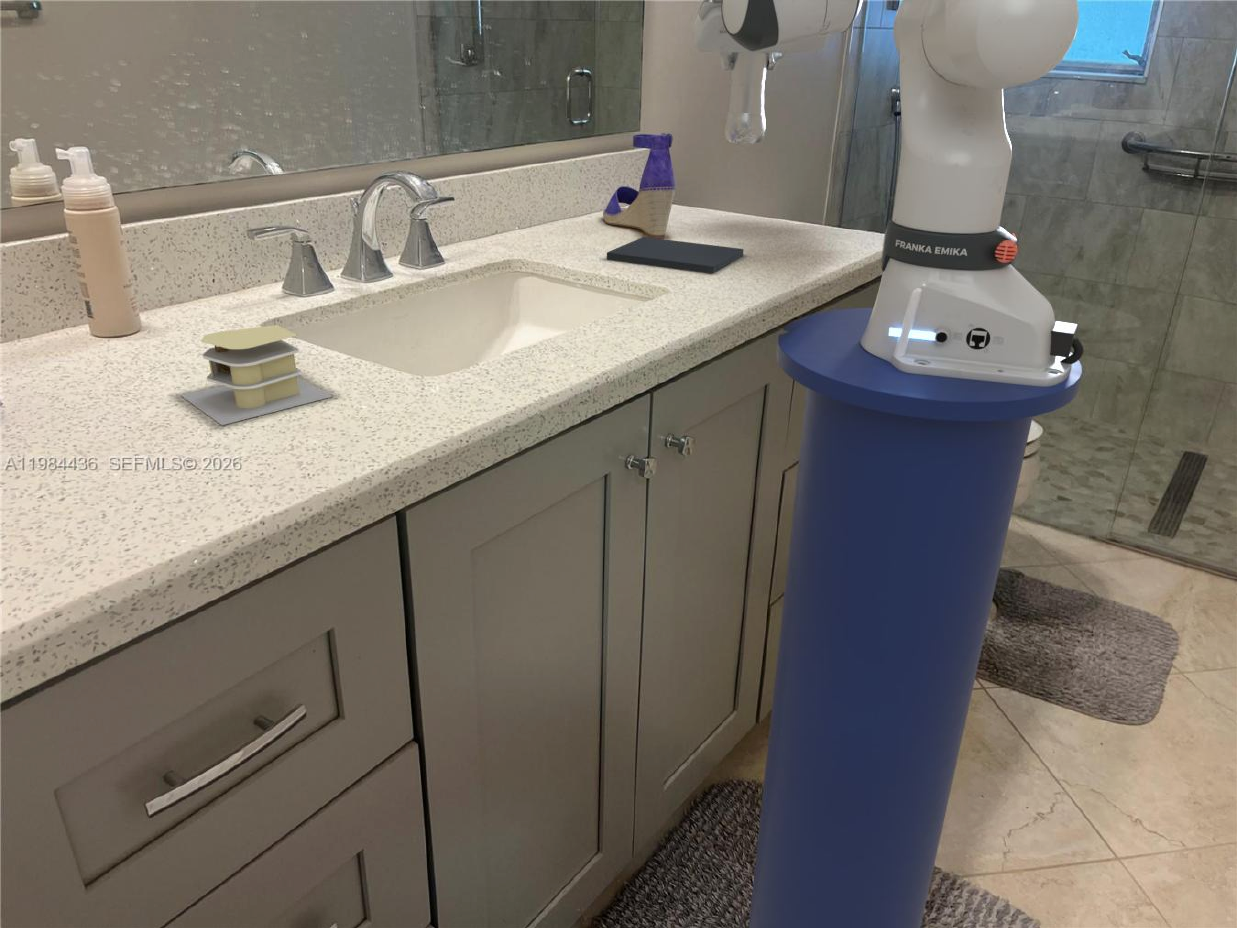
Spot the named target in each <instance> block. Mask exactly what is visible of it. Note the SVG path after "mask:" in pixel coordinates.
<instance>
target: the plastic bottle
mask: <svg viewBox="0 0 1237 928" xmlns="http://www.w3.org/2000/svg"><path fill="white" fill-rule="evenodd" d="M769 54H770V52H731V54H730V55H731V58H732V60H733V62H734V65H733V67H732V70H730V89H729V90H730V91H729V100H728V108H727V113H726V117H725V121H724V137H725V139H726V140H727V143H728V142H729V143H731V144H734V145H738V146H743V147H745V146H746V147H747V146H752V145H755V144H759V143H761V142H762V140H763V139H764V137H765V133H766V128H767V127H766V126H767V125H766V114H765V81H766V75H767V70H766V69H767V63H768V58H769Z"/></svg>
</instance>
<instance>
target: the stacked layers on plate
mask: <svg viewBox="0 0 1237 928" xmlns="http://www.w3.org/2000/svg"><path fill="white" fill-rule="evenodd" d="M296 336H297V334H296V333H294V332H292V331H290V330H288V329H286V328H284V327H283V326H280V325H278V324H275V325H267V326H266V325H265V326H257V327H249V328H241V329H231V330H223V331H217V332H212V333H207V334H205V335H204V336H203V337H202V338H201V339H200V340H199V341H200V342H201V343H205V344H209V345H212V346H214V347H210V348H208V349H207V350H206V351H205V352H204V353H203V354H202V358H203V359H204V360H207V361H208V365H209V369H210V373H209V374H208V375H207V376H206V380H207V381H208V382H210V383H213V384H217V385H219V386H215V387H211V388H210V387H209V388H207V389H206V388H205V389H201V390H197V391H193V392H189V393H185V394H181V395H180V396H181V397H182V398H183V399H185V401H187V402H189V403H191V404H192V405H193V406H195V408H197V409H199V411H201V412H203V413H204V414H205V415H206V416H208V417H210V418H211V419H213V420H214V421H215V422H217V423H218V424H220V425H221V426H225V425H228V424H229V425H230V424H233V423H237V422H240V421H244V420H247V419H253V418H256V417H259V416H263V415H267V414H270V413H271V414H272V413H275V412H278V411H282V410H286V409H290V408H294V407H298V406H302V405H306V404H309V403H314V402H317V401H321V400H326V399H328V398H332V397H334V396H333V395H331V394H330V393H327V392H326V391H324V390H323V389H320V388H319V387H318V386H315V385H313V384H312V383H310V382H309V381H307V380H305V379H304V378H301V377H299V376H301V375H303V371H302V370H301V369H299V368H297V363H296V357H295V354H298V353H300V348H298V347H296V346H294V345H292V344H290V343H289V342H287V341H285V339H289V338H293V337H296Z"/></svg>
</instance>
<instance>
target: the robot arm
mask: <svg viewBox="0 0 1237 928" xmlns="http://www.w3.org/2000/svg"><path fill="white" fill-rule="evenodd" d="M863 1H864V0H702V1H701V3H700V6H699V10H698V14H697V16H696V19H695V21H694V24H693V26H692V29H691V37H692V41H693V45H694V47H695V49H696V51H697V52H698V53H720V56H721V59H720V69H721V71H731V70H732V67H733V65H734V62H733V60H732V58H731V55H730V54H731V52H769V58H768V63H767V69H766V71H776V70H777V67H778V65H779V63H780V64H781V62H783V61H784V60H786V59H787V58H788V57H789V56H790V54H791V53H818V52H820V51H821V50H823V49H824V48H825V47H826V45H827V42H828V40H829V38H830V36H832V35H837V34H840V33H841V34H842V33H845V32H846V31H847V30H848V29H850V28H851V26H852V25H853V24H854V23H855V21H856V19H857V17H858V15H859V14H860V11H861V8H862V5H863ZM1078 3H1079V2H1078V0H901V2H900V4H899V6H898V8H897V10H896V13H895V17H894V21H893V27H892V29H893V30H892V33H893V35H892V36H893V41H894V45H895V48H896V51H897V55H898V62H899V63H898V65H899V96H900V97H899V98H900V119H901V142H900V154H899V155H900V157H899V165H898V172H897V179H896V187H895V195H894V202H893V209H892V218H891V219H889V220H888V221H887V225H886V229H885V231H884V237H883V242H882V250H881V259H880V262H881V271H882V274H881V279H880V280H881V281H880V285H879V288H878V292H877V294H876V299H875V302H874V305H873V307H872V308H873V311H872V314H871V317H870V320H869V322H868V325H867V327H866V330H865V332H864V334H863V336H862V338H861V341H860V343H861V345H862V347H863V348H864V349H865V350H866V351H868V352H869V353H871V354H873V355H875V356H877V357H879V358H882V359H884V360H886V361H888V362H890V363H891V364H892V365H893V366H894V367H896V368H897V369H898V370H900V371H902V372H906V373H913V374H922V375H932V376H942V377H951V378H961V379H971V380H981V381H990V382H1000V383H1010V384H1019V385H1029V386H1039V387H1049V386H1053V385H1057V384H1059V383H1061V382H1063V381H1065V380H1066V379H1067V378H1068V376H1069V375H1070V372H1071V367H1072V364H1073V363H1075V362H1077V361H1078V360H1079V361H1080V359H1081V358H1082V357H1083V354H1084V346H1083V344H1082V342H1081V341H1080V339H1079V338H1078V337H1076V334H1077V330H1078V325H1079V324H1078V323H1072V322H1065V321H1059V320H1056V317H1055V313H1054V309H1053V306H1052V305H1051V302H1050V301H1049V300H1048V299H1047V298H1046V297H1045V296H1044V295H1043V294H1042V293H1041V292H1039V291H1038V289H1037V288H1036V287H1034V285H1032V283H1031V282H1029V281H1028V280H1027V279H1026V278H1025V277H1024V276H1023V275H1022V274H1021V273H1020V272H1019V271H1018V270H1017V269H1016V268H1015V267H1013V265H1012V264H1013V262H1014V259H1015V258H1016V256H1017V254H1018V251H1019V248H1018V239H1017V236H1016V233H1014V232H1012V234H1011V233H1010V232H1008V231H1007V230H1006V229H1004V228H1003V227H1002V226H1001V224H1000V223H1001V218H1002V213H1003V208H1004V202H1005V196H1006V191H1007V186H1008V180H1009V176H1010V170H1011V164H1012V159H1013V150H1012V149H1013V148H1012V147H1013V146H1012V142H1011V140H1010V137H1009V135H1008V131H1007V128H1006V119H1005V111H1004V90H1005V89H1006V90H1007V89H1011V88H1015V87H1018V86H1022V85H1024V84H1028V83H1030V82H1033V81H1036V80H1039V79H1040V78H1043V77H1044V76H1046V75H1047V74H1049V73H1050V72H1051V71H1053V70H1054V69H1056V67H1057V66H1058V65H1059V64H1060V63H1061V62H1062V61H1063V60H1064V58H1065V57H1066V55H1067V54H1068V52H1069V50H1070V49H1071V47H1072V45H1073V43H1074V40H1075V37H1076V35H1077V32H1078V26H1079V19H1080V15H1079V13H1080V11H1079V10H1080V9H1079V4H1078ZM1072 350H1073V352H1072ZM1070 353H1073V354H1072V355H1071V354H1070Z"/></svg>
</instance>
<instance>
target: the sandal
mask: <svg viewBox="0 0 1237 928" xmlns="http://www.w3.org/2000/svg"><path fill="white" fill-rule="evenodd" d="M673 140H674V137H673V135H672V134H671V133H665V132H662V133H660V134H651V133H650V134H649V133H648V134H646V133H645V134H644V133H639V134H633V135H632V147H633V148H637V149H647V150H648V149H649V153H648V157H647V160H646V163H645V166H644V169H643V172H642V175H641V177H640V183H639V190H637V189H635V188H632V187H630V186H626V185H621V186H618V187H617V188H616V190H615V191H614V193H613V194H612V196H611V198H610V200H609V202H608V204H607V205H606V206H605V208H604V210H603V211H602V218H603V222H604V223H606V224H607V225H612V226H619V227H628V228H633V229H636V230H640V231H641V232H644V235H645V237H649V238H657V239H666V235H667V230H668V224H669V219H670V213H671V211H672V205H673V201H674V197H675V193H676V182H675V174H674V169H673V163H672V158H671V153H670V148H672V144H673ZM620 204H625V205H628V207H621V206H620Z"/></svg>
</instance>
